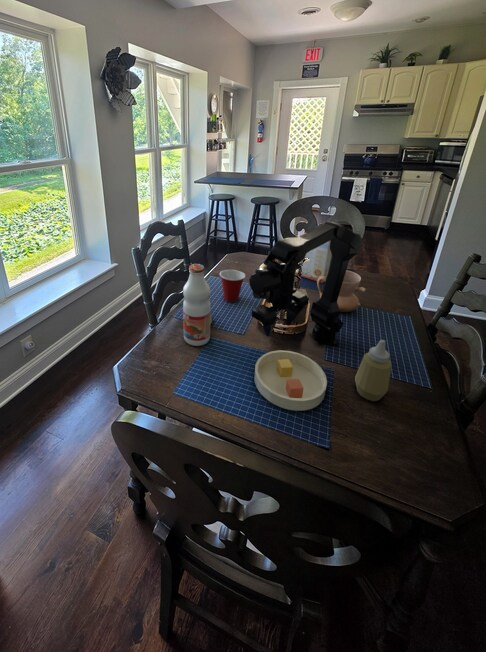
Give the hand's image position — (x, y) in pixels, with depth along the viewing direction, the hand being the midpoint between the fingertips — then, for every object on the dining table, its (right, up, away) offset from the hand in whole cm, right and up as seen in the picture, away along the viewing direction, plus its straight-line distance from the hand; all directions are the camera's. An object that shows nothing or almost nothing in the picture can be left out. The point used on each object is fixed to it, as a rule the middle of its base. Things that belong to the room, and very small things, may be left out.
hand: (278, 330), depth 97 cm
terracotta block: (+2, -16, -7) cm, 18 cm away
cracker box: (+33, +12, +59) cm, 69 cm away
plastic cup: (-8, +4, +42) cm, 43 cm away
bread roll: (-23, -3, +26) cm, 35 cm away
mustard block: (+2, -13, 0) cm, 13 cm away
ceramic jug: (+34, +2, +35) cm, 49 cm away
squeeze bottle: (+23, -16, -7) cm, 29 cm away
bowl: (+2, -15, -3) cm, 15 cm away
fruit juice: (-24, -7, +17) cm, 30 cm away
